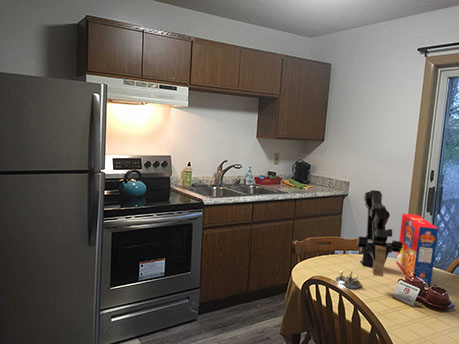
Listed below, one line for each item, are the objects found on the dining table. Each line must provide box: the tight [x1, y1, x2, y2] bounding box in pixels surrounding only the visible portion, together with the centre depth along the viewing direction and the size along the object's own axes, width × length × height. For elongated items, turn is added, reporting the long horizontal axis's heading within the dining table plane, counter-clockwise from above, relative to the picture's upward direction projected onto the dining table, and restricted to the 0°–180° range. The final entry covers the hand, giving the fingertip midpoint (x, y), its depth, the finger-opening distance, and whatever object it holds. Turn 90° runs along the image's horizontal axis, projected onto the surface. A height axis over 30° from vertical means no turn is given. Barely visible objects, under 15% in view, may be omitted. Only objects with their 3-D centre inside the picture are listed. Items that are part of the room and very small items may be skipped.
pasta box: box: [395, 213, 439, 286], centre depth 187 cm, size 28×8×28 cm, turn 170°
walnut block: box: [371, 246, 386, 278], centre depth 166 cm, size 4×4×12 cm
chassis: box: [335, 270, 361, 290], centre depth 171 cm, size 11×11×5 cm
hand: (379, 261), depth 164 cm, fingers closed on walnut block, 4 cm apart
